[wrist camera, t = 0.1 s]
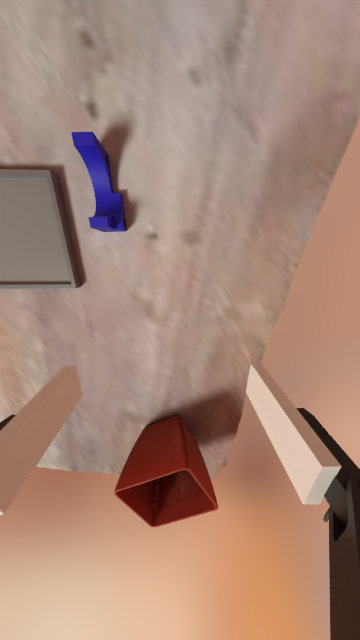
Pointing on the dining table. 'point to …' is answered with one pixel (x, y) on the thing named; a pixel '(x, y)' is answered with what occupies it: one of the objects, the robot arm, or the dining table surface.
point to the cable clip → (101, 184)
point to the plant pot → (166, 475)
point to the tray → (34, 232)
